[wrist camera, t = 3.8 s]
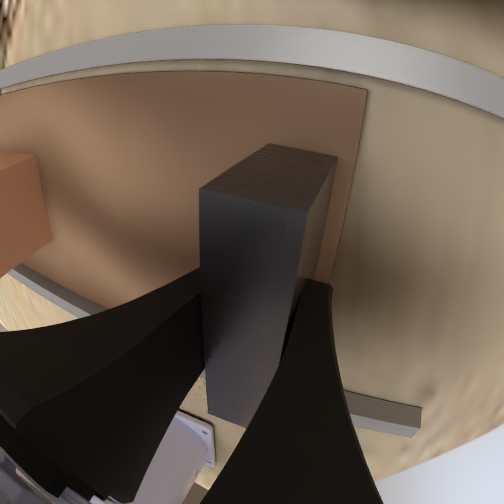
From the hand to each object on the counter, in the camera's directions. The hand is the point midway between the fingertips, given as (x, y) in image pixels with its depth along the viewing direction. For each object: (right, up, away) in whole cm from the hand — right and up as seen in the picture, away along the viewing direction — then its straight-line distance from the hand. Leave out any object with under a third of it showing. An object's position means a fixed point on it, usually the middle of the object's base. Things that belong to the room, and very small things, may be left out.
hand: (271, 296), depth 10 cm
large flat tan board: (-9, +4, +5) cm, 11 cm away
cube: (-14, +5, +5) cm, 16 cm away
